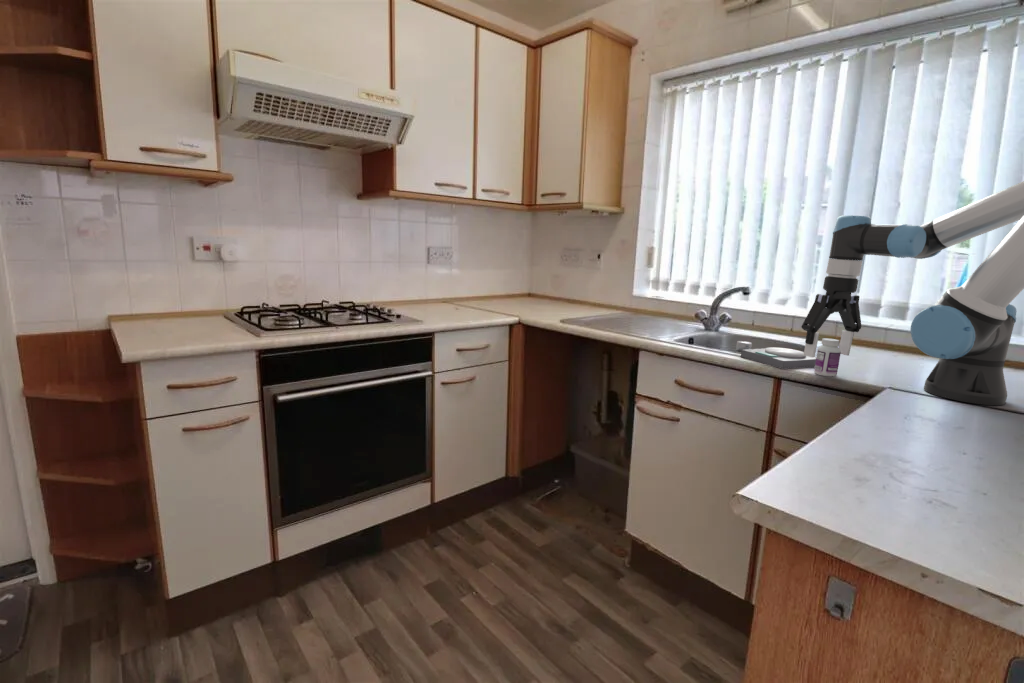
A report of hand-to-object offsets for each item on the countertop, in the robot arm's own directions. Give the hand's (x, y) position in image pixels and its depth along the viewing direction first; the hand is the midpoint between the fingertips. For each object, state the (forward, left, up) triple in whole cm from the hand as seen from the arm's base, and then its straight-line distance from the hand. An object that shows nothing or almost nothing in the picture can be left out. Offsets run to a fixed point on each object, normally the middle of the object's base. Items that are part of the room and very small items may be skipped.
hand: (826, 355), depth 141 cm
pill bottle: (0, 0, -5) cm, 5 cm away
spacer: (-1, -29, -5) cm, 29 cm away
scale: (-1, -15, -5) cm, 15 cm away
